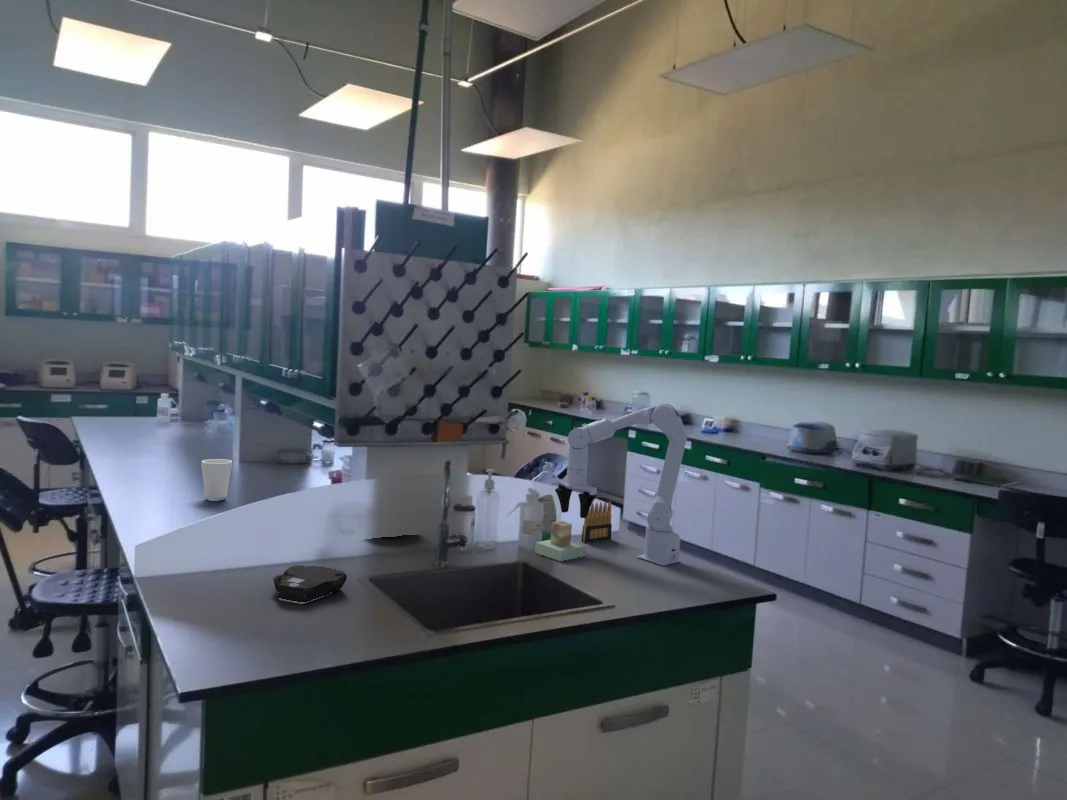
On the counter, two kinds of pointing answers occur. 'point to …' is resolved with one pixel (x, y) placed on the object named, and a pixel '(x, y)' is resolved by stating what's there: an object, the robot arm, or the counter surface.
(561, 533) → the beech block
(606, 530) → the ammunition clip
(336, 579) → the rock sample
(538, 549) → the sage base block
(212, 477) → the foam cup
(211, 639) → the counter surface
